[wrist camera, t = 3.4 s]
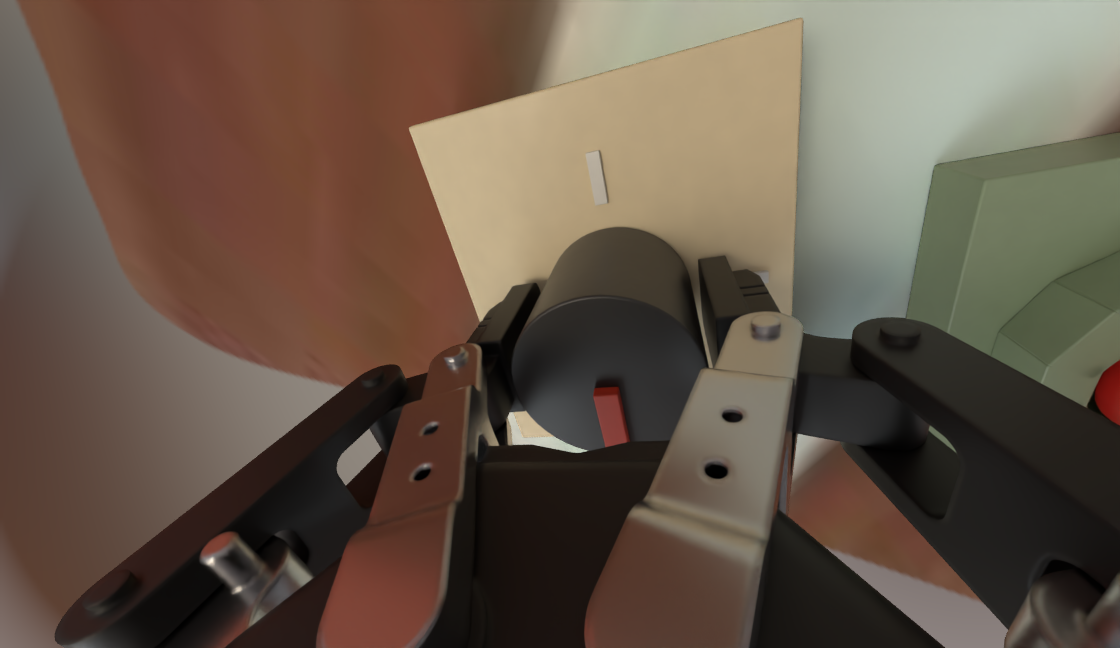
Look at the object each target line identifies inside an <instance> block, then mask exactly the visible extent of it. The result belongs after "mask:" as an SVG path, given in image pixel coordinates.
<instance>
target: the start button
mask: <svg viewBox="0 0 1120 648" xmlns="http://www.w3.org/2000/svg"><path fill="white" fill-rule="evenodd" d="M1094 395H1095V401H1096V404H1097V406H1098V408H1099V410H1100V411H1101V413H1102V414H1104V415H1105V416H1106V417H1107V418H1108V419H1110V420H1111V421H1112V422H1114V423H1116V424H1118V425H1120V360H1119V361H1117V362H1116V363H1114V364H1113V365H1112V366H1110V367H1109V368H1108V369H1106V370H1105V371H1104V372H1103V373H1102V375H1101V377H1100V379H1099V382H1098V384H1097V386H1096V388H1095V393H1094Z"/></svg>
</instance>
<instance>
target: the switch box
mask: <svg viewBox="0 0 1120 648" xmlns="http://www.w3.org/2000/svg"><path fill="white" fill-rule="evenodd" d="M906 319H912V320H917V321H921V322H925V323H928V324H930V325H933V326H935V327H937V328H939V329H941V330H943V331H945V332H947V333H948V334H950V335H952V336H954V337H956V338H958V339H960V340H961V341H963V342H965V343H967V344H969V345H971V346H973V347H974V348H976V349H978V350H980V351H982V352H984V353H986V354H987V355H989V356H991V357H993V358H995V359H997V360H999V361H1000V362H1002V363H1004V364H1006V365H1008V366H1010V367H1012V368H1014V369H1015V370H1017V371H1019V372H1021V373H1023V374H1025V375H1027V376H1028V377H1030V378H1032V379H1034V380H1036V381H1038V382H1040V383H1041V384H1043V385H1045V386H1047V387H1049V388H1051V389H1053V390H1054V391H1056V392H1058V393H1060V394H1062V395H1064V396H1066V397H1067V398H1069V399H1071V400H1073V401H1075V402H1077V403H1079V404H1080V405H1082V406H1084V407H1086V408H1088V409H1090V410H1092V411H1094V412H1095V413H1097V414H1099V415H1101V416H1103V417H1105V418H1107V417H1106V416H1105V415H1104V414H1102V413H1101V411H1100V410H1099V408H1098V406H1097V404H1096V401H1095V395H1094V393H1095V388H1096V386H1097V384H1098V382H1099V379H1100V377H1101V375H1102V373H1103V372H1104V371H1105V370H1106V369H1108V368H1109V367H1110V366H1112V365H1113V364H1114V363H1116V362H1117V361H1119V360H1120V132H1118V133H1112V134H1107V135H1101V136H1095V137H1090V138H1084V139H1079V140H1073V141H1067V142H1062V143H1056V144H1050V145H1045V146H1039V147H1033V148H1028V149H1022V150H1017V151H1011V152H1005V153H1000V154H994V155H988V156H983V157H977V158H971V159H966V160H960V161H955V162H949V163H943V164H938V165H935V167H934V172H933V177H932V183H931V188H930V193H929V199H928V204H927V209H926V214H925V220H924V225H923V230H922V236H921V241H920V246H919V252H918V257H917V262H916V268H915V273H914V278H913V284H912V289H911V294H910V300H909V305H908V310H907V316H906ZM1107 419H1108V418H1107ZM1108 420H1110V419H1108ZM1110 421H1111V420H1110ZM929 431H930V432H931V433H932V434H934V435H935V436H936V437H937V438H938V439H940V440H941V441H942V442H943V443H945V444H946V445H947V446H948V447H950V448H951V449H952V450H953V451H954V452H956V451H955V449H954V448H953V446H952V445H951V443H950V442H949V441H948V440H947V439H946V438H945V437H944V436H943V435H942V434H940V433H939V432H938V431H937V430H935V429H934V428H933V427H931V426H930V427H929Z"/></svg>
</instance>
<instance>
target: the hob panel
mask: <svg viewBox="0 0 1120 648" xmlns="http://www.w3.org/2000/svg"><path fill="white" fill-rule="evenodd" d="M802 44H803V18H797V19H794V20H790V21H787V22H783V23H780V24H776V25H772V26H769V27H765V28H762V29H758V30H754V31H751V32H747V33H744V34H740V35H737V36H733V37H729V38H726V39H722V40H719V41H715V42H711V43H708V44H704V45H701V46H697V47H694V48H690V49H686V50H683V51H679V52H676V53H672V54H668V55H665V56H661V57H658V58H654V59H651V60H647V61H643V62H640V63H636V64H633V65H629V66H625V67H622V68H618V69H615V70H611V71H608V72H604V73H600V74H597V75H593V76H590V77H586V78H582V79H579V80H575V81H572V82H568V83H564V84H561V85H557V86H554V87H550V88H547V89H543V90H539V91H536V92H532V93H529V94H525V95H521V96H518V97H514V98H511V99H507V100H504V101H500V102H496V103H493V104H489V105H486V106H482V107H478V108H475V109H471V110H468V111H464V112H461V113H457V114H453V115H450V116H446V117H443V118H439V119H435V120H432V121H428V122H425V123H421V124H418V125H414V126H411V127H410V128H409V130H410V133H411V136H412V139H413V141H414V144H415V147H416V149H417V152H418V155H419V158H420V160H421V163H422V166H423V168H424V171H425V174H426V177H427V179H428V182H429V185H430V187H431V190H432V193H433V195H434V198H435V201H436V204H437V206H438V209H439V212H440V214H441V217H442V220H443V223H444V225H445V228H446V231H447V233H448V236H449V239H450V242H451V244H452V247H453V250H454V252H455V255H456V258H457V261H458V263H459V266H460V269H461V271H462V274H463V277H464V280H465V282H466V285H467V288H468V290H469V293H470V296H471V298H472V301H473V304H474V307H475V309H476V312H477V315H478V317H479V320H480V322H481V321H483V318H484V317H485V315H486V314H487V312H488V311H489V310H490V309H491V308H493V307H494V306H495V305H497V304H498V303H499V302H502V301H503V300H504V298H505V297H506V295H507V294H508V292H509V291H510V289H511V288H512V286H515V285H521V284H528V283H537V285H538V286H539V289H540V292H542V290H543V288H544V286H545V284H546V282H547V280H548V278H549V276H550V274H551V272H552V270H553V268H554V266H555V264H556V263H557V261H558V259H559V257H560V256H561V255H562V254H563V252H564V251H565V250H566V249H567V248H568V247H569V246H570V245H571V244H572V243H574V242H575V241H576V240H578V239H579V238H581V237H583V236H585V235H587V234H589V233H592V232H594V231H597V230H601V229H605V228H614V227H626V228H633V229H638V230H642V231H645V232H648V233H650V234H652V235H655V236H656V237H658V238H660V239H661V240H663V241H665V242H666V243H667V244H668V245H670V246H671V247H672V248H673V249H674V250H675V251H676V252H677V254H678V255H679V256H680V258H681V259H682V260H683V262H684V264H685V266H686V268H687V270H688V273H689V276H690V280H691V285H692V289H693V294H694V299H695V304H696V308H697V313H698V318H699V322H700V327H701V332H702V336H703V341H704V346H705V350H706V355H707V360H708V364H709V368H713V366H712V361H711V357H710V353H709V348H708V344H707V339H706V335H705V331H704V326H703V319H702V310H701V297H700V284H699V272H698V259H703V258H710V257H717V256H724V255H725V256H726V258H727V260H728V263H729V265H730V267H731V269H732V271H737V270H744V269H748V270H750V271H752V272H754V273H755V274H757V275H759V276H760V277H761V279H762V281H763V282H764V284H765V286H766V288H767V289H768V291H769V294H771V296H772V298H773V300H774V301H775V303H776V305H777V307H778V308H779V310H780V312H781V313H783V314H787V315H790V316H792V302H793V276H794V250H795V224H796V199H797V173H798V147H799V121H800V96H801V70H802ZM514 415H515V418H516V420H517V423H518V426H519V429H520V431H521V434H522V437H551V436H553V435H551V434H550V433H548V432H547V431H546V430H544V429H543V428H542V427H541V426H539V425H538V424H537V423H536V422H535V421H534V420H533V419H532V418H531V417H530V415H529V414H528V413H527V411H523V412H514Z"/></svg>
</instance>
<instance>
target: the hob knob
mask: <svg viewBox="0 0 1120 648" xmlns="http://www.w3.org/2000/svg"><path fill="white" fill-rule="evenodd" d="M703 367H707V368H709V364H708V360H707V355H706V350H705V346H704V341H703V336H702V332H701V327H700V322H699V318H698V313H697V308H696V304H695V299H694V294H693V289H692V285H691V280H690V276H689V273H688V270H687V268H686V266H685V264H684V262H683V260H682V259H681V258H680V256H679V255H678V254H677V252H676V251H675V250H674V249H673V248H672V247H671V246H670V245H668V244H667V243H666V242H665V241H663V240H661V239H660V238H658V237H656V236H655V235H652V234H650V233H648V232H645V231H642V230H638V229H633V228H626V227H614V228H605V229H601V230H597V231H594V232H592V233H589V234H587V235H585V236H583V237H581V238H579V239H578V240H576V241H575V242H574V243H572V244H571V245H570V246H569V247H568V248H567V249H566V250H565V251H564V252H563V254H562V255H561V256H560V257H559V259H558V261H557V263H556V264H555V266H554V268H553V270H552V272H551V274H550V276H549V278H548V280H547V282H546V284H545V286H544V288H543V290H542V292H541V294H540V296H539V298H538V300H537V302H536V304H535V306H534V308H533V310H532V312H531V314H530V316H529V318H528V320H527V322H526V324H525V326H524V328H523V330H522V332H521V334H520V336H519V338H518V340H517V342H516V345H515V347H514V350H513V354H512V359H511V374H512V381H513V385H514V389H515V392H516V394H517V396H518V399H519V401H520V402H521V404H522V406H523V407H524V409H525V410H526V411H527V413H528V414H529V415H530V417H531V418H532V419H533V420H534V421H535V422H536V423H537V424H538V425H539V426H541V427H542V428H543V429H544V430H546V431H547V432H548V433H550V434H551V435H553V436H554V437H556V438H558V439H560V440H562V441H564V442H566V443H568V444H570V445H573V446H575V447H578V448H581V449H585V450H588V451H591V450H595V449H600V448H604V447H608V446H613V445H617V444H622V443H626V442H633V441H665V440H671V438H672V436H673V433H674V431H675V429H676V426H677V424H678V422H679V419H680V417H681V415H682V412H683V410H684V408H685V405H686V403H687V401H688V398H689V396H690V394H691V391H692V389H693V387H694V384H695V382H696V380H697V377H698V375H699V373H700V371H701V369H702V368H703Z"/></svg>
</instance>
